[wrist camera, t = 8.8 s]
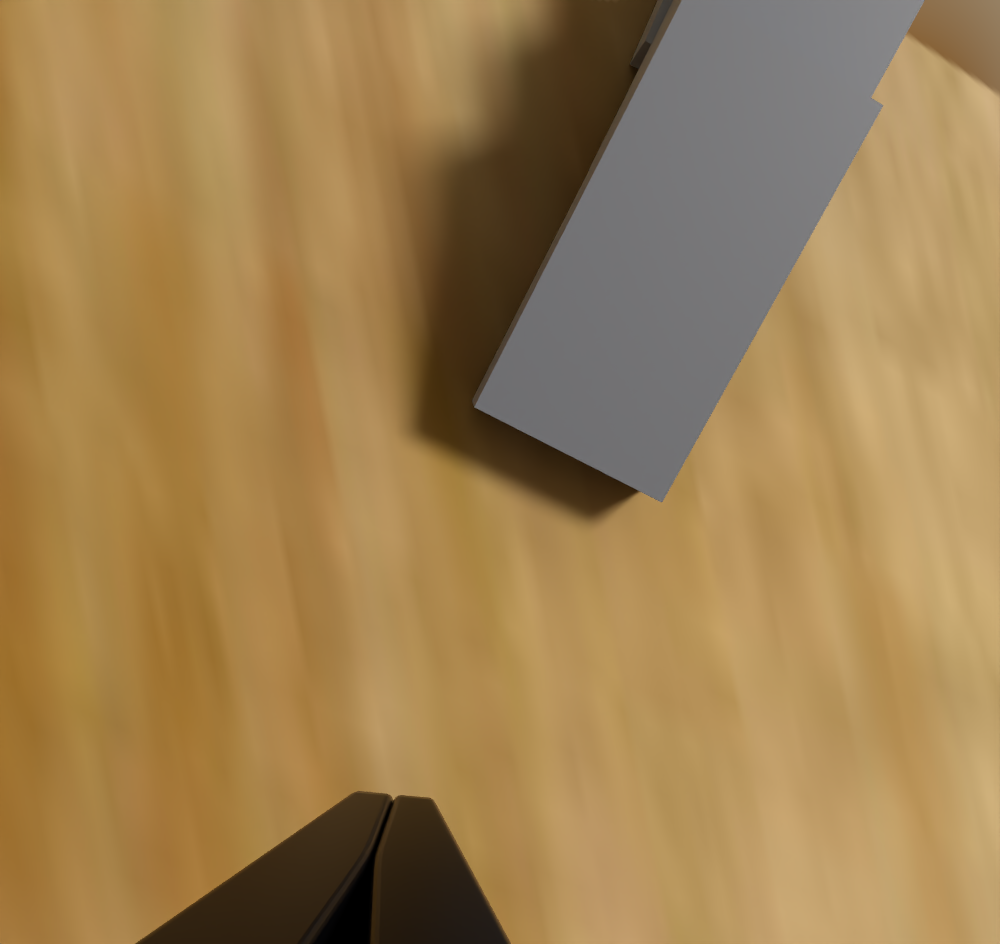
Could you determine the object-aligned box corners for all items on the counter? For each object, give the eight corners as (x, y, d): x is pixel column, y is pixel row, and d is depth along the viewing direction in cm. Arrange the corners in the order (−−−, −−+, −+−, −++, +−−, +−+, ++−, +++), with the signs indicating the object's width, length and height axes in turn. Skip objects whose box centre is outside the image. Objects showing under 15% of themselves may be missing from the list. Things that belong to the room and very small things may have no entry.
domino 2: (724, 364, 20) (935, -20, 18) (549, 270, 19) (755, -138, 17) (703, 361, 21) (896, 7, 20) (541, 274, 20) (729, -99, 19)
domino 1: (661, 502, 18) (883, 105, 17) (474, 407, 18) (689, -16, 16) (644, 488, 20) (846, 123, 19) (472, 400, 19) (668, 14, 18)
